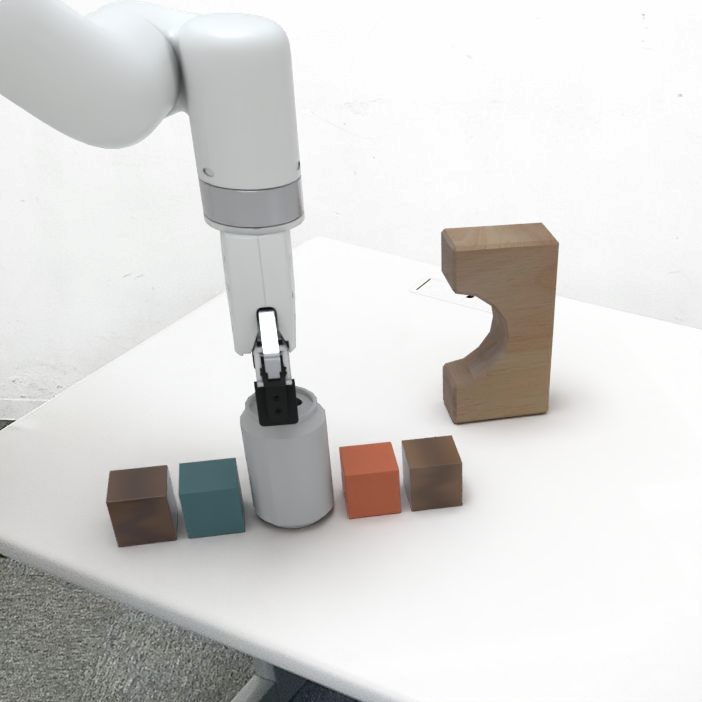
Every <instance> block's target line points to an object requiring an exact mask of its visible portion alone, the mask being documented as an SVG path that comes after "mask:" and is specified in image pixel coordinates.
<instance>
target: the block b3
mask: <svg viewBox="0 0 702 702" xmlns="http://www.w3.org/2000/svg"><path fill="white" fill-rule="evenodd" d="M338 452H339V453H338V454H339V463H340V473H341V475H340V476H341V484H342V485H341V486H342V491H343V496H344V502H345V506H346V512H347V516H348V519H349V520H350V519H360V518H366V517H375V516H383V515H391V514H399V513H402V505H401V504H402V503H401V502H402V501H401V482H400V479H401V478H400V468H399V464H398V461H397V457H396V455H395V450H394V447H393V444H392V442H391V441H383V442H373V443H363V444H354V445H346V446H345V445H344V446H339V447H338Z"/></svg>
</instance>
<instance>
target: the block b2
mask: <svg viewBox="0 0 702 702" xmlns="http://www.w3.org/2000/svg"><path fill="white" fill-rule="evenodd" d="M178 498H179V503H180V507H181V511H182V517H183V520H184V524H185V529H186V534H187V538H188V539H196V538H197V539H198V538H204V537H212V536H213V537H214V536H221V535H228V534H238V533H245V532H246V525H245V509H244V499H243V492H242V486H241V480H240V476H239V469H238V464H237V458H236V457H228V458H227V457H226V458H217V459H209V460H208V459H207V460H198V461H190V462H189V461H188V462H179V465H178Z"/></svg>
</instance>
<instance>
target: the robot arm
mask: <svg viewBox="0 0 702 702" xmlns="http://www.w3.org/2000/svg"><path fill="white" fill-rule="evenodd" d="M0 95H1V96H2V97H4V98H5V99H7V100H8V101H10V102H12V103H13V104H15V106H17V107H19V108H21V109H22V110H23V111H25V112H27V113H28V114H29V115H31V116H33V117H34V118H36V119H38V120H39V121H41V122H42V123H43V124H46V125H47V126H49V127H50V128H52V129H53V130H55V131H57V132H59V133H61V134H63V135H65V136H67V137H68V138H70V139H73V140H75V141H77V142H80V143H83V144H85V145H87V146H92V147H95V148H101V149H105V150H120V149H125V148H129V147H132V146H135V145H137V144H139V143H141V142H142V141H144V140H145V139H146V138H148V137H149V136H150V135H151V134H152V133H153V132H155V130H156V128H157V127H158V126H159V125H160V124H161V123H162V122H163V120H164V119H167V118H169V117H171V116H173V115H175V114H177V113H181V112H183V113H185V114H186V115H187V116H188V120H189V126H190V132H191V133H190V134H191V139H192V145H193V153H194V160H195V167H196V172H197V177H198V178H197V179H198V185H199V186H198V187H199V192H200V193H199V194H200V198H201V205H202V206H201V207H202V212H203V220H204V222H205V223H206V225H208V226H209V227H211V228H212V229H214V230H217V231H219V236H220V237H219V238H220V250H221V251H220V252H221V258H222V259H221V261H222V267H223V274H224V283H225V290H226V297H227V303H228V311H229V317H230V318H229V319H230V326H231V334H232V340H233V349H234V353H236V354H237V355H238V356H240V357H244V355H250V354H251V358H252V365H253V369H254V370H255V379H256V380H255V381H253V386H254V393H255V395H256V403H257V410H258V418H259V424H260V425H261V426H263V427H266V426H278V425H291V424H296V423H298V421H299V418H298V408H297V398H296V388H295V386H296V379H295V378H292V377H293V376H292V370H291V360H290V353H292V352H293V351H295V349H296V348H297V314H296V313H297V310H296V287H295V285H296V284H295V273H294V272H295V271H294V258H293V246H292V236H291V230H293V229H295V228H297V227H298V226H301V224H302V223H303V222H304V220H305V216H306V215H305V214H306V213H305V204H304V193H303V179H302V169H301V168H302V167H301V156H300V145H299V133H298V124H297V123H298V121H297V110H296V97H295V85H294V72H293V61H292V51H291V44H290V40H289V37H288V35H287V32H286V31H285V30H284V28H283V26H282V25H280V24H279V23H278V22H276V21H275V20H272V19H271V18H268V17H264V16H261V15H256V14H250V13H243V12H242V13H241V12H240V13H239V12H214V13H205V14H203V13H197V12H191V11H186V10H181V9H177V8H173V7H169V6H164V5H160V4H155V3H151V2H147V1H142V0H141V1H140V0H116V1H112V2H111V1H110V2H108V3H106V4H104V5H102V6H100V7H99V8H97V9H95V10H93V11H91V12H89V13H87V14H86V15H85V16H84V15H82V14H81V13H79V12H78V11H77V10H75V9H74V8H72V7H71V6H70V5H68V4H67V3H65V2H64V1H63V0H0Z"/></svg>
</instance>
